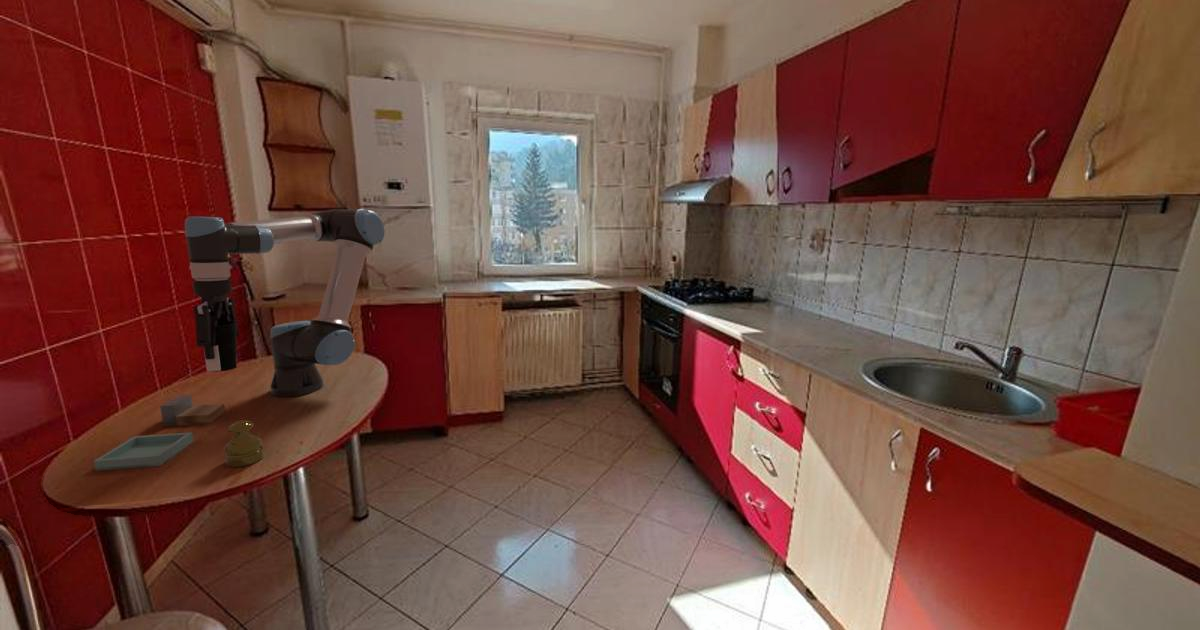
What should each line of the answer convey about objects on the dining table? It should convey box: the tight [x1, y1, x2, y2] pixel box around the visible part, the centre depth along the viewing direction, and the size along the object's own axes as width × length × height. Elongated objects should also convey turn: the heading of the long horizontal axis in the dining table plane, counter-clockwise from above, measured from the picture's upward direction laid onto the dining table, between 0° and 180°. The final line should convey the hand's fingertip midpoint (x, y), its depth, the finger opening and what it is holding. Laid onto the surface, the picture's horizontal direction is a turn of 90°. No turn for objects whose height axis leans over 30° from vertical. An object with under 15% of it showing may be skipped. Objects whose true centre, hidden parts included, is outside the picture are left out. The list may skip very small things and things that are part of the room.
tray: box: [93, 432, 194, 472], centre depth 114 cm, size 13×13×2 cm
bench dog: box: [160, 394, 194, 427], centre depth 133 cm, size 3×8×6 cm, turn 13°
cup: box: [211, 321, 238, 373], centre depth 120 cm, size 8×8×12 cm
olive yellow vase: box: [223, 419, 265, 468], centre depth 112 cm, size 7×7×10 cm
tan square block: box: [176, 403, 226, 426], centre depth 135 cm, size 8×8×3 cm
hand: (222, 365), depth 121 cm, fingers closed on cup, 8 cm apart
